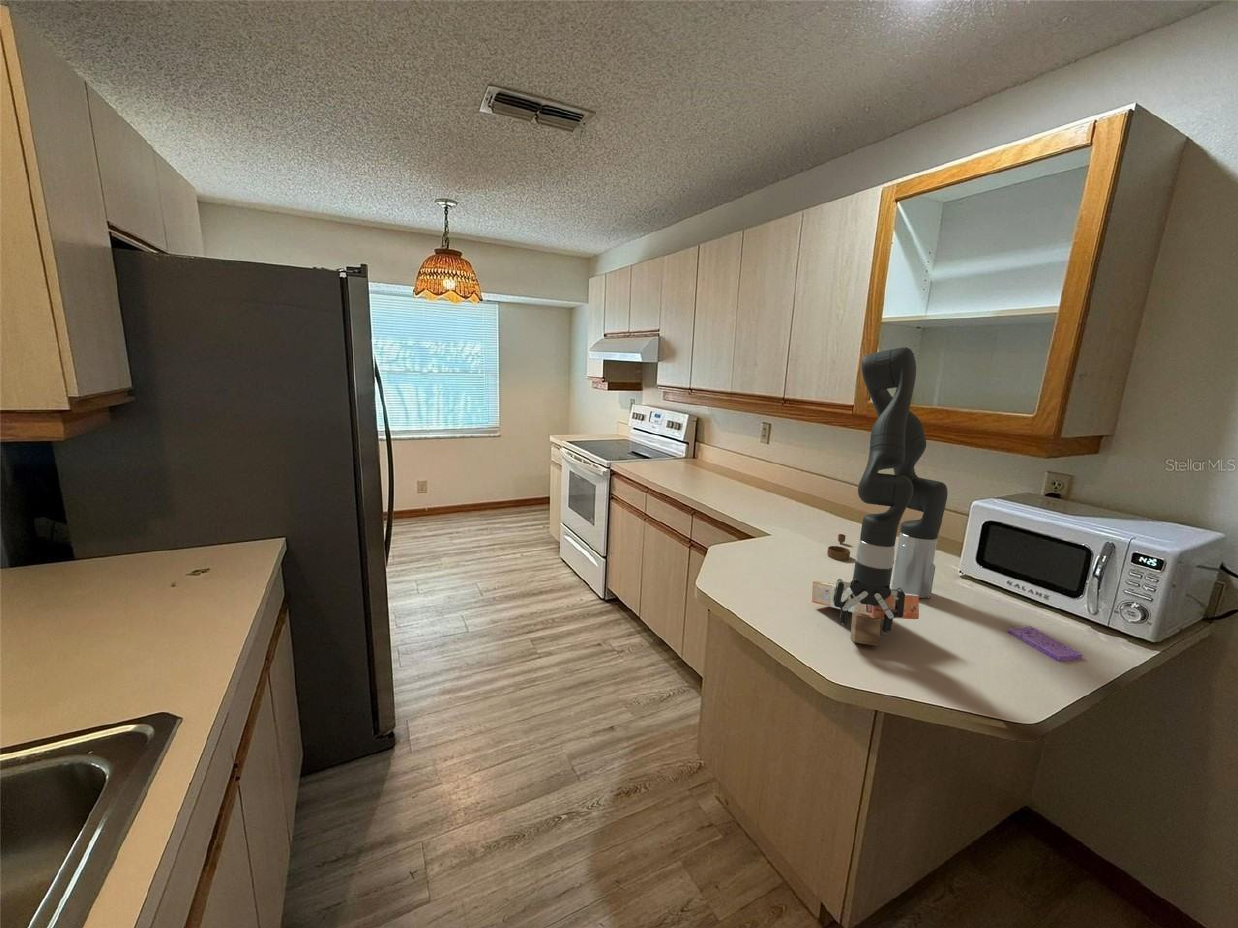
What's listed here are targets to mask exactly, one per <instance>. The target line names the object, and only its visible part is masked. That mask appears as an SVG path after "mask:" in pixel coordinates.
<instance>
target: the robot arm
mask: <svg viewBox="0 0 1238 928" xmlns="http://www.w3.org/2000/svg"><path fill="white" fill-rule="evenodd" d="M913 352H914V351H912V349H911V348H910V347H906V346H905V347H898V348H892V349H891V348H890V349H887V350H886V349H885V350H882V351H875V352H873V353H869V354H866V355H865V356H864V357H863V359H862V360H861V365H860V366H861V375H862V378H863V382H864V384H865V387H866V389H867V392H868V394H869V396H870V399H871V401H872V404H873V406H874V409H875V411H876V414H877V419H876V421H875V422H874V424H873V425H872V429H871V431H870V432H871V433H870V438H869V439H870V440H869V454H868V460H867V465H866V467H865V470H864V471H863V474H862V477H861V479H860V481H859V482H858V486H857V494H858V495H857V496H858V497H859V499H860V500H861V502H863V503H865V504H868V505H874V506H875V505H876V506H884V507H889V508H888V509H887V510H886V511H883V512H881V513H869V514H866V515H865V516H863V518H862V522H861V528H860V537H859V541H858V545H857V548H856V555H855V562H854V568H853V575H852V580H851V581H850V582H849V581H843V579H841V578H839V579H837V580H836V583H837V584H836V588H835V593H834V598H833V602H834V605H835V607H839V608H841V609H840V613H839V621H840V623H841V624H842V626H843V627H847V625H848V619H849V613H850V612H849V611H848V609H849V608H851V607H852V606H854V605H856V604H857V603H858V602H860V603H861V604H870V605H872V606H876V605H879V604H880V606H881V607H882V609H883V610H884V612H885V613H886V614H884V618H883V620H882V627H881V628H882V632H883V633H884V634H888V632H891V630H892V626H893V619H896V618H895V617H899V618H898V619H902V618H901V617H903V612H904V601H905V593H909V594H915V595H919V599H924V598H927V599H928V598H929V599H930V598H931V597H932V590H933V585H934V579H935V573H936V572H935V571H936V565H935V564H934V561H935V557H936V550H937V543H938V537H939V533H940V530H941V527H942V524H943V523H942V522H943V517H944V513H945V509H946V505H947V500H948V493H949V492H948V487H947V485H946V484H945V482H942V481H938V480H934V479H928V478H923V477H919V476H918V475H917V474H916V472H915V471H916V470H915V465H916V464H917V463H918V461H919V460H920V459H921V457H922V455H923V454H924V453H925V451H926V448H927V438H926V435H925V434H926V433H925V430H924V426H923V423H922V421H921V419H919V418H918V416H917V415H916V414H915V413H914V412H912V411H910V410H911V409H910V408H911V404H912V401H913V399H912V398H913V396H914V395H913V393H914V388H915V384H916V377H917V364H916V363H917V362H916V357H915V355H914V353H913ZM895 388H896V389H895ZM888 389H895V392H894V395H893V396H892V395H891V393H890V392H889V390H888ZM889 469H893V473H894V474H892V473H884V472H883V473H881V472H879V471H882V470H889ZM906 509H909V510H914V511H917V512H922V516H921V518H919V519H914V520H913V519H911V520H909V519H908V520H904V521H902V517H903V515H904V513H905V511H906ZM901 521H902V523H901V524H900V522H901ZM899 526H900V529H899V535H897V533H898V528H899ZM897 536H899V537H898V543H897V549H896V548H895V547H896V542H897V541H896V540H897ZM895 549H896V550H895ZM895 552H896V553H895ZM895 555H896V556H895ZM893 567H894V568H893ZM893 569H894V570H893ZM892 575H893V576H892ZM890 585H891V587H890ZM847 588H850V589H851V591H852V593H851V594H850V595H849V596H848V597H847V598H846V599H845V600H844V601H843V602H842V601H841V598H842V593H843V591H846V589H847ZM891 594H892V595H893V597H894V599H895V600H896V601H895V609H893V610H890V608H889V607H888V605H887V603H886V602H885V599H887V598H888V597H889V596H890V595H891ZM853 595H854V596H853Z"/></svg>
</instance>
